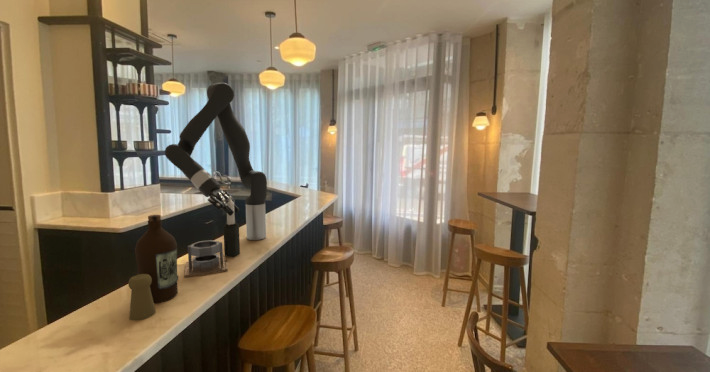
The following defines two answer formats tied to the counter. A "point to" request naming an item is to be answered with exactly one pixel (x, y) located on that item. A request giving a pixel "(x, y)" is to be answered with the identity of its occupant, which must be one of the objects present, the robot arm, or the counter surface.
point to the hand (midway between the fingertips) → (235, 212)
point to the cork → (141, 297)
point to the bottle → (231, 234)
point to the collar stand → (205, 258)
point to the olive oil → (158, 260)
